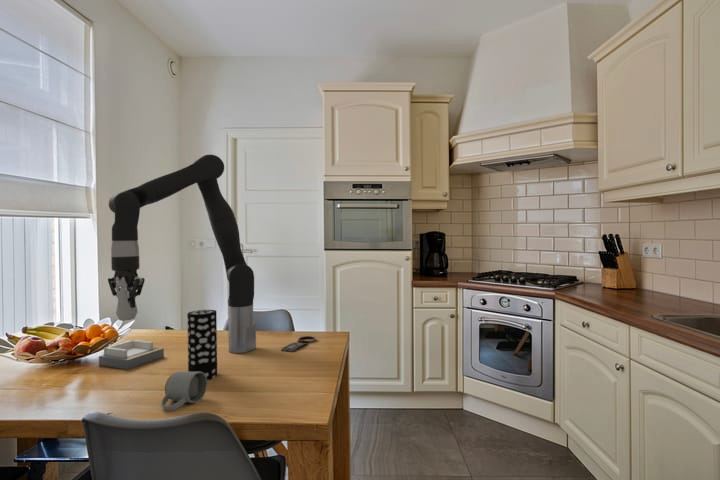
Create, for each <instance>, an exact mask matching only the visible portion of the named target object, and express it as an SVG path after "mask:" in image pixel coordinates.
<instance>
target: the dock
mask: <svg viewBox="0 0 720 480" xmlns="http://www.w3.org/2000/svg"><path fill="white" fill-rule="evenodd" d="M164 350H165V349H164V347H154V341H147V340H138V339H132V340H127V341H125V342H120V343H117V344H114V345H110V346H106V347H103V351H104V352H103V354H102V355H99V356H98V365H99V366H104V367H110V368H117V369H123V370H129V369H134V368H135V367H138V366H141V365H145V364H147V363H151V362H152V361H156V360H158V359H162V358H164V357H165V352H164Z"/></svg>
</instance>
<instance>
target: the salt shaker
mask: <svg viewBox="0 0 720 480" xmlns="http://www.w3.org/2000/svg"><path fill="white" fill-rule="evenodd" d="M118 285H119V286H120V293H119V299H118V298H117V305H116V311H115V313H116V314H115V315H116V317H117V318H118V320H119V321H121V322H122V321H123V322H124V321H132V320H134V319H135V318H136V316H137V314H138V310H139V309H138V307H137V304H136V303H137V302H136V301H135V308H131V307H130V301H129V303H128V298H127V295H126V291H124V282H122V279H120V280H119V281H118ZM128 288H132V287H128ZM131 292H132V290H130V294H131ZM132 306H133V305H132Z"/></svg>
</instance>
